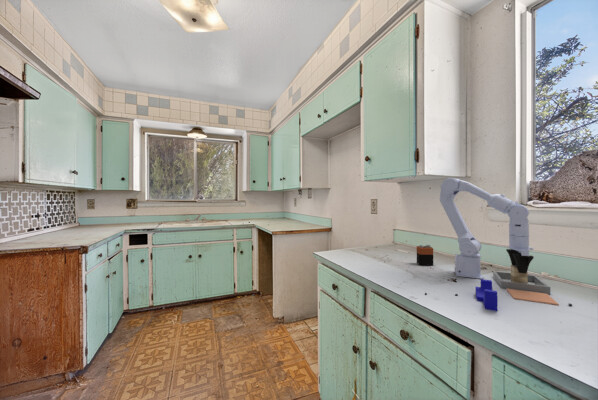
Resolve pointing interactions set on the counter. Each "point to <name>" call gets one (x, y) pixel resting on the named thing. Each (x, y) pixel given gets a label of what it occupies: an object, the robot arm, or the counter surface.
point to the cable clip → (487, 295)
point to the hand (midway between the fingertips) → (519, 270)
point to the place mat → (532, 296)
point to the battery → (425, 255)
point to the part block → (518, 275)
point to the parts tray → (539, 288)
